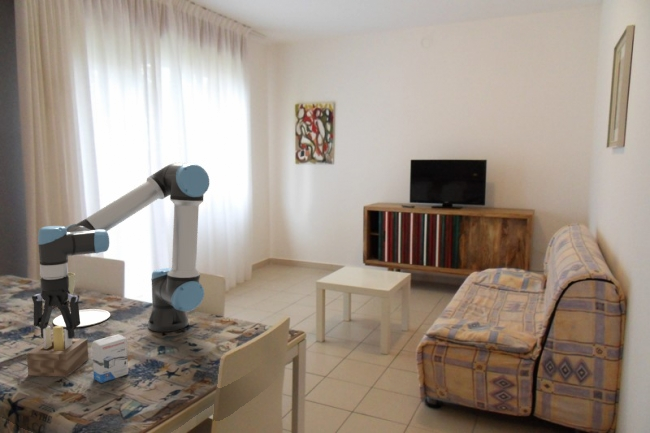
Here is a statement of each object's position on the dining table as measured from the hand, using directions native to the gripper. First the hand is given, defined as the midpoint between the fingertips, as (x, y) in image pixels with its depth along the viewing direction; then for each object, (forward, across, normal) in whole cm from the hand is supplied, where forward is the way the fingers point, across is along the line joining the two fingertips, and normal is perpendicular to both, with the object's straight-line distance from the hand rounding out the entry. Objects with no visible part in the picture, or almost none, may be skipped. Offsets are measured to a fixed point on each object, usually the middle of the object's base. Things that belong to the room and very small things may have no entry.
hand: (58, 347), depth 143 cm
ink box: (+7, -19, +5) cm, 21 cm away
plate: (+7, +16, -42) cm, 45 cm away
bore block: (+6, 0, 0) cm, 6 cm away
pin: (+5, 0, 0) cm, 5 cm away
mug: (+7, +37, -64) cm, 74 cm away
